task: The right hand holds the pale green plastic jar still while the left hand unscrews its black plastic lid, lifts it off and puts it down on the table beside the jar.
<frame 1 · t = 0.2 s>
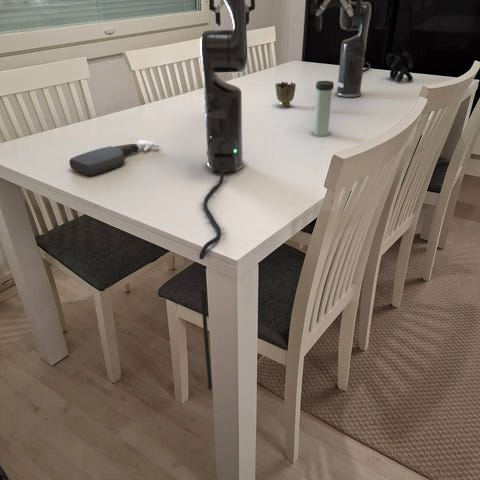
left hand: (232, 25, 142), 29 cm above the table, tool pointing down, fingers open, 8 cm apart
right hand: (333, 30, 130), 29 cm above the table, tool pointing down, fingers open, 8 cm apart
jar: (320, 133, 141), on the table
cup: (284, 106, 168), on the table
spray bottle: (117, 159, 125), on the table
squiggle: (399, 80, 200), on the table
lid: (324, 83, 133), point 15 cm above the table, screwed on, not yet turned
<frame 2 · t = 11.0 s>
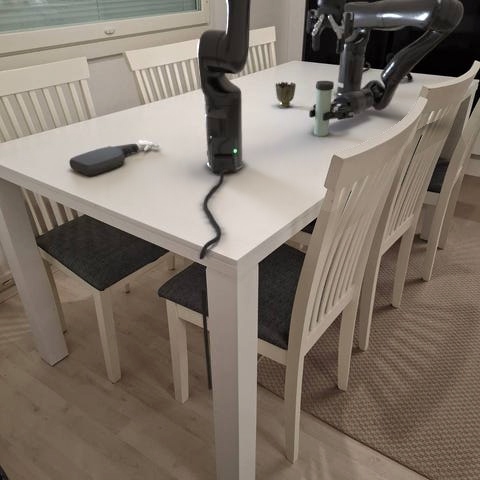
left hand: (327, 51, 128), 24 cm above the table, tool pointing down, fingers open, 7 cm apart
right hand: (317, 115, 136), 6 cm above the table, tool horizontal, fingers closed on jar, 4 cm apart
jar: (320, 133, 141), on the table, touching right hand
everything else where it was.
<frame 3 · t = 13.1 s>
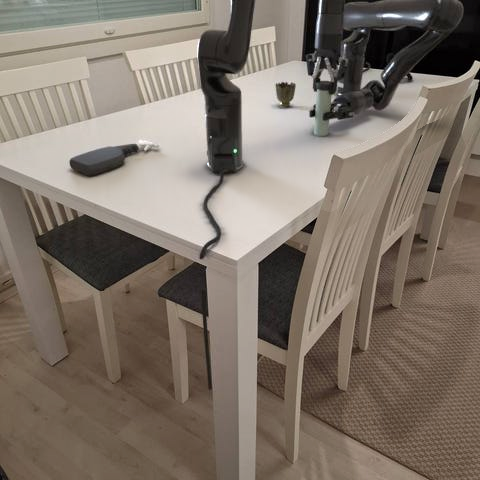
left hand: (324, 92, 134), 13 cm above the table, tool pointing down, fingers closed on lid, 5 cm apart
right hand: (317, 115, 136), 6 cm above the table, tool horizontal, fingers closed on jar, 4 cm apart
jar: (320, 133, 141), on the table, touching right hand
lid: (324, 83, 133), point 15 cm above the table, screwed on, not yet turned, touching left hand
everything else where it was.
when the left hand's fingers open (13 cm above the table, at t = 14.5 s): lid stays where it is, point 15 cm above the table.
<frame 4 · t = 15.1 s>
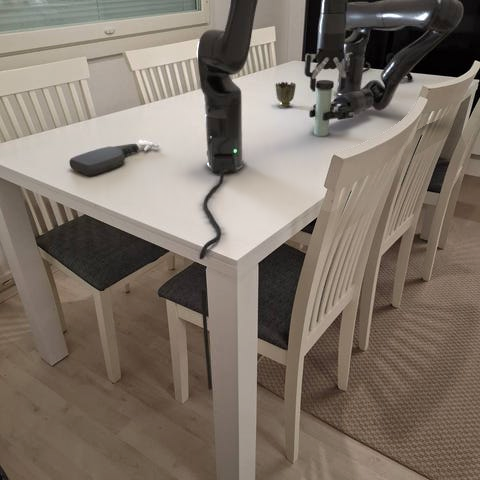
left hand: (326, 90, 133), 13 cm above the table, tool pointing down, fingers open, 7 cm apart
right hand: (317, 115, 136), 6 cm above the table, tool horizontal, fingers closed on jar, 4 cm apart
jar: (320, 133, 141), on the table, touching right hand
lid: (324, 83, 132), point 15 cm above the table, turned 81° so far, risen 0.2 cm, still on its thread
everything else where it was.
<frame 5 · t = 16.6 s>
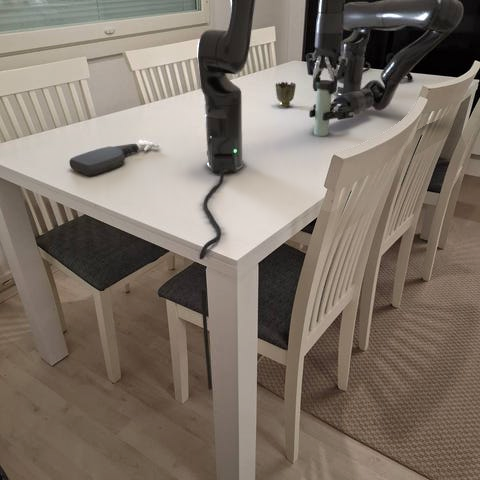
left hand: (324, 91, 134), 13 cm above the table, tool pointing down, fingers closed on lid, 5 cm apart
right hand: (317, 115, 136), 6 cm above the table, tool horizontal, fingers closed on jar, 4 cm apart
jar: (320, 133, 141), on the table, touching right hand
lid: (324, 83, 132), point 15 cm above the table, turned 81° so far, risen 0.2 cm, still on its thread, touching left hand
everything else where it was.
when the left hand's fingers open (0 cm above the table, at t = 23.7 s): lid drops 2 cm, point 1 cm above the table.
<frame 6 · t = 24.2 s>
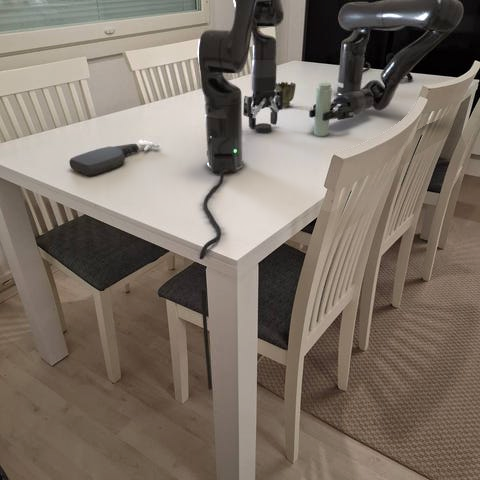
left hand: (263, 126, 144), 1 cm above the table, tool pointing down, fingers open, 8 cm apart
right hand: (317, 115, 136), 6 cm above the table, tool horizontal, fingers closed on jar, 4 cm apart
jar: (320, 133, 141), on the table, touching right hand
lid: (263, 126, 144), point 1 cm above the table, off its thread
everything else where it was.
when the right hand's fingers open (6 cm above the table, at t = 24.8 s): jar stays where it is, on the table.
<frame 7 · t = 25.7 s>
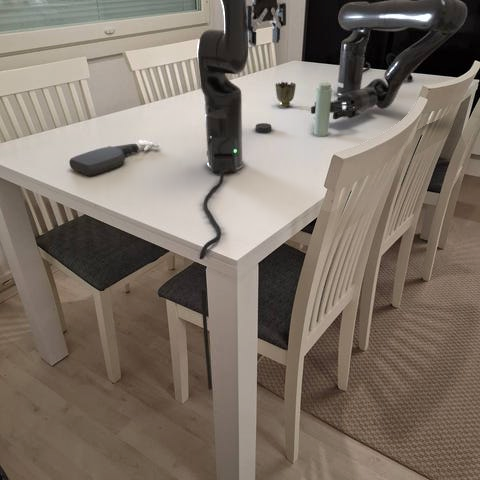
left hand: (264, 44, 131), 26 cm above the table, tool pointing down, fingers open, 8 cm apart
right hand: (322, 113, 138), 6 cm above the table, tool horizontal, fingers open, 8 cm apart
jar: (320, 133, 141), on the table
everything else where it was.
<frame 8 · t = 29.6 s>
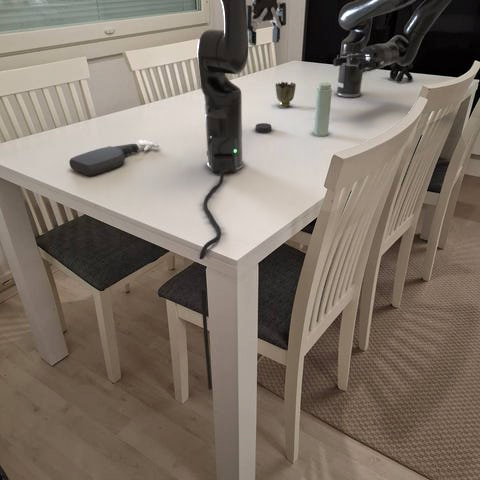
left hand: (264, 43, 131), 26 cm above the table, tool pointing down, fingers open, 8 cm apart
right hand: (346, 64, 136), 19 cm above the table, tool horizontal, fingers open, 8 cm apart
nothing on the table moved.
at the end: lid came off its thread; lid point 1.3 cm above the table; the left hand is holding nothing; the right hand is holding nothing; jar tilted 0°; jar moved 0.0 cm from its start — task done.
